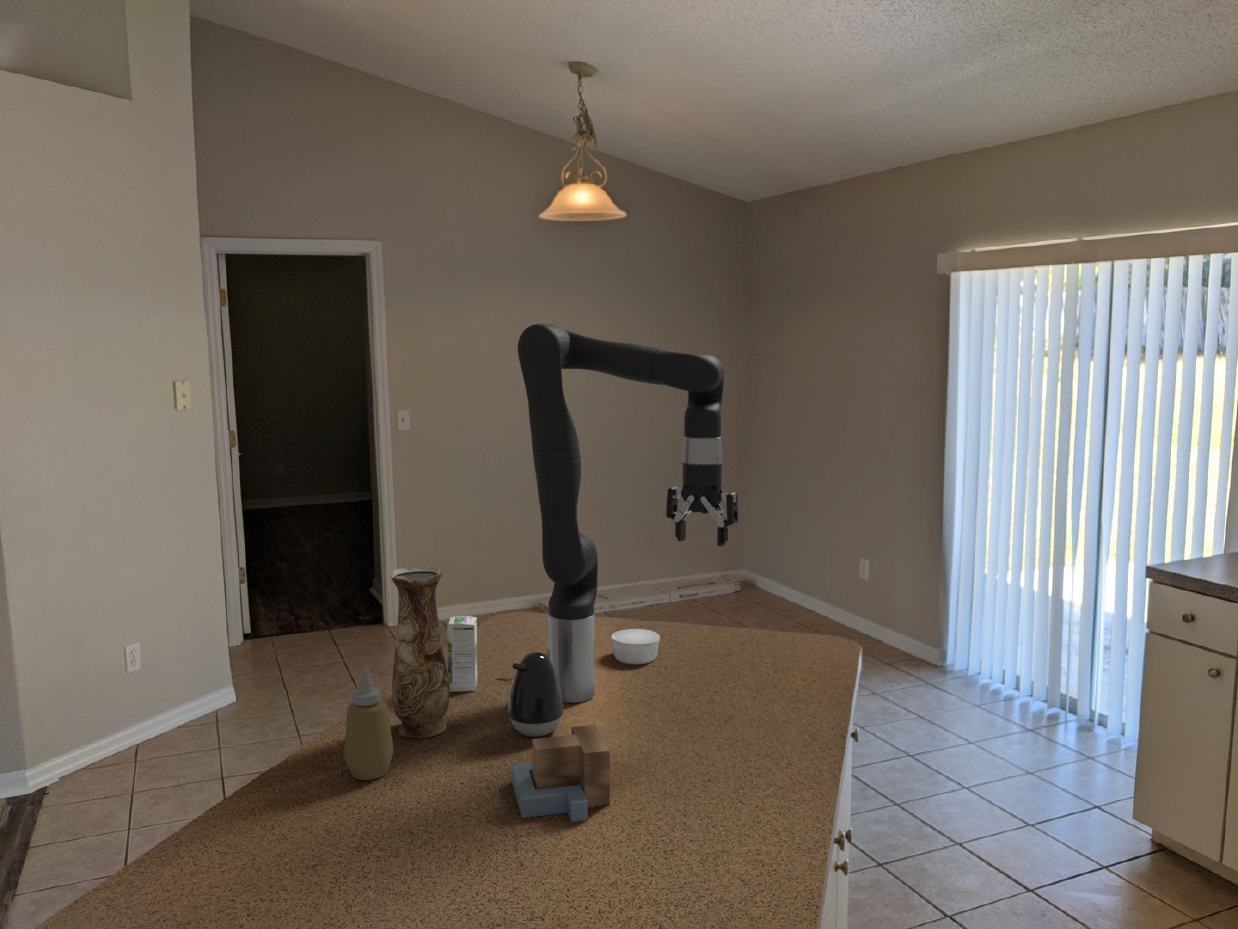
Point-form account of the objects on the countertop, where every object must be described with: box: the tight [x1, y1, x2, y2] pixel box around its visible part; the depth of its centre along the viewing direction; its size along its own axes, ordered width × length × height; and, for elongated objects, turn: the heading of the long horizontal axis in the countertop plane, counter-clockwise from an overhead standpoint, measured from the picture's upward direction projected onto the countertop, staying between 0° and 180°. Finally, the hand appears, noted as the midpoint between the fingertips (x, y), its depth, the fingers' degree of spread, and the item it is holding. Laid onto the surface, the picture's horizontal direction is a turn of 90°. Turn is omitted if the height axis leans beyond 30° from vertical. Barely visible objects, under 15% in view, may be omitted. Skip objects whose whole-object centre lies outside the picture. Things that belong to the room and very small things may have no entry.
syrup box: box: [446, 615, 478, 693], centre depth 194 cm, size 6×6×14 cm
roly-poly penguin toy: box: [507, 651, 564, 738], centre depth 172 cm, size 10×10×15 cm
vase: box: [389, 566, 450, 739], centre depth 172 cm, size 10×11×30 cm
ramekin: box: [610, 628, 661, 665], centre depth 212 cm, size 11×11×5 cm
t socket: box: [510, 761, 589, 823], centre depth 148 cm, size 10×18×3 cm, turn 14°
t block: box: [531, 724, 611, 808], centre depth 149 cm, size 11×10×9 cm
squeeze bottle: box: [343, 668, 394, 781], centre depth 155 cm, size 8×8×18 cm
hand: (701, 543), depth 180 cm, fingers open, 8 cm apart
